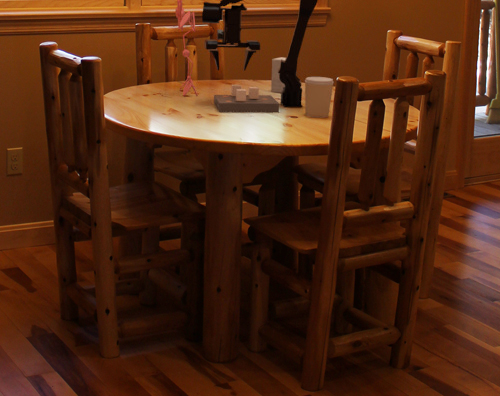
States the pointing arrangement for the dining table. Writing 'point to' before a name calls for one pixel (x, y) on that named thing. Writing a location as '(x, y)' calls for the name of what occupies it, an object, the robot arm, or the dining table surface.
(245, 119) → the dining table surface
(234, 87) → the slider
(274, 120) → the dining table surface
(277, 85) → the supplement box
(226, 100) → the switch unit
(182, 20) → the figurine
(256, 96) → the slider
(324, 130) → the dining table surface
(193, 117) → the dining table surface
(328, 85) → the coffee cup
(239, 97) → the slider
